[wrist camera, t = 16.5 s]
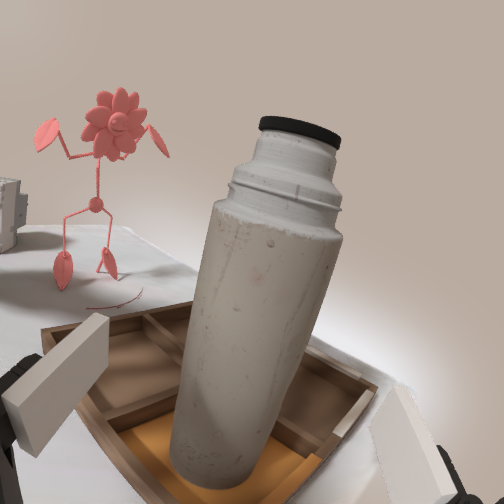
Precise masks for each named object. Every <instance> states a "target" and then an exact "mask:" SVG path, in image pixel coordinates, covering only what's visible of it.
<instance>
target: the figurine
mask: <svg viewBox="0 0 504 504" xmlns="http://www.w3.org/2000/svg"><path fill="white" fill-rule="evenodd" d="M138 104H139V95H138V93H137V92H133V93H131V94H130V95H129V96H128V94H127V92H126V91H125V89H123V88H121V87H119V88H118V89H117V90H116V92H115V94H114V95H112V94H111V93H109V92H107V91H100V92H99V93H98V94H97V105H98V107H94V108H92V109H91V110H89V111H88V112H87V113H86V114H85V119H86V120H87V121H88V122H89V123H88V124H87V125H86V126H85V128H84V129H83V131H82V133H81V139H82V141H86V142H89V141H94V142H93V144H94V145H93V152H90V153H85V154H80V155H75V156H70V155H69V152H68V150H67V148H66V145H65V143H64V141H63V138H62V136H61V133H60V131H59V123H58V122H57V121H56V118H52V119H50V120H47V121H46V122H44V123H43V124H42V125H41V126H40V127H39V128H38V130H37V131H36V134H35V138H34V142H35V147H36V150H37V152H40V151H42V150H43V149H45V148H46V147H47V146H49V145H50V144H51V143H52V142H53V141H54V140H55V138H56V137H57V135H58V136H59V139H60V141H61V144H62V146H63V148H64V150H65V152H66V155H67V157H69V160H70V159H74V158H80V157H84V156H89V155H93V156H94V158H97V168H96V169H97V170H96V182H97V183H96V184H97V197H94V198H92V199H91V200H90V202H89V207H88V208H86V209H83V210H81V211H78V212H76V213H73V214H71V215H68V216H66V217H64V219H63V251H62V252H60V253H59V254H58V256H57V257H56V259H55V262H54V267H53V270H54V278H55V280H56V281H57V283H58V286H59V288H60V290H61V291H62V290H63V289H64V288H65V287H66V285H67V284H68V282H69V281H70V280H71V276H72V273H73V262H72V258H71V255H70V254H69V253H68V252H67V251H66V252H65V219H66V218H68V217H71V216H73V215H76V214H78V213H81V212H84V211H86V210H89V209H90V210H91V211H92V212H94V213H98V212H100V211H101V210H103V211H105V212H106V213H107V214H108V215H109V216H110V217H111V220H110V226H109V233H108V241H107V248H106V247H104V248H103V249H102V259H101V261H100V264H99V266H98V268H97V270H96V272H97V273H98V272H99V270H100V268H101V266H102V263H104V266H105V268H106V270H107V271H108V273H109V274H110V275H111V276H112V277H113V278H114V279H116V280H117V267H116V262H115V259H114V257H113V255H112V254H111V252H110V251H109V249H108V247H109V239H110V232H111V225H112V215H110V213H109V212H107V211H106V210H105V209H104V208H103V201H102V200H101V199H100V198H99V168H100V158H101V157H103V155H105V156H107V158H108V159H109V160H110V161H112V162H114V161H116V160H117V159H121V160H124V158H126V157H127V155H128V154H129V153H134V152H135V150H136V143H137V142H138V141H139V140H140V138H141V137H142V136H143V134H144V133H145V132H146V131H147V129H148V130H149V132H150V135H151V137H152V139H153V141H154V142H155V144H156V145H157V147H158V148H159V149H160V150H161V152H163V154H164V155H166V156H167V157H168V158H169V153H168V151H167V148H166V145H165V144H164V142H163V140H162V138H161V137H160V135H159V134H158V133H157V131H156V130H155V129H154V128H153V127H152V126H151V125H150V124H147V125H146V128H145V129H144V127H143V126H142V125H141V123H142V122H143V121H144V120H145V118H146V115H147V110H146V109H144V108H141V109H138ZM134 139H136V140H135V141H134ZM120 151H121V152H124V153H126V154H125V155H124V157H120ZM141 291H142V290H141ZM140 293H141V292H140ZM138 296H139V295H138ZM138 296H137V297H138ZM137 297H136V298H137ZM136 298H134V299H136ZM139 298H140V297H139ZM139 298H138V299H139ZM134 299H133V300H134ZM131 301H132V300H131ZM131 301H129V302H131ZM129 302H127V303H129ZM125 304H126V303H125ZM122 305H124V304H122ZM118 306H121V305H118ZM113 307H117V306H113ZM121 307H122V306H121ZM107 308H112V307H107ZM117 308H119V307H117ZM86 309H105V308H86Z"/></svg>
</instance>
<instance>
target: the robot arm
mask: <svg viewBox="0 0 504 504" xmlns="http://www.w3.org/2000/svg"><path fill="white" fill-rule="evenodd" d="M109 319H110V317H107V316H104V315H102V314H99V313H96V312H95V313H93V314H92V315H91V316H90V317H89V318H88V319H86V320H85V321H84V322H83V323H82V324H80V325H79V326H78V327H77V328H76V329H75V330H73V331H72V332H71V333H70V334H69V335H68V336H66V337H65V338H64V339H63V340H62V341H61V342H59V343H58V344H57V345H56V346H55V347H54V348H53V349H51V350H50V351H49V352H48V353H47V354H46V355H45V356H44V357H42V356H40V355H38V354H36V353H35V354H32V355H29V356H27V357H24V358H23V359H22V360H21V361H20V362H18V363H17V364H16V366H14V367H13V368H11V369H10V371H8V372H7V373H6V374H4V375H3V376H2V377H1V378H0V504H23V500H22V496H21V491H20V487H19V482H18V476H17V471H16V465H15V459H14V452H13V447H12V443H13V442H14V441H15V440H16V439H17V442H18V444H19V447H20V448H21V449H22V450H24V451H25V452H27V453H29V454H30V455H32V456H33V457H35V458H37V457H38V455H39V454H40V453H41V451H42V450H43V449H44V447H45V446H46V445H47V443H48V442H49V441H50V439H51V438H52V437H53V435H54V434H55V433H56V431H57V430H58V429H59V427H60V426H61V425H62V424H63V422H64V421H65V420H66V418H67V417H68V416H69V414H70V413H71V412H72V411H73V409H74V408H75V407H76V406H77V404H78V403H79V402H80V400H81V399H82V398H83V397H84V395H85V394H86V393H87V392H88V390H89V389H90V388H91V387H92V385H93V384H94V383H95V382H96V380H97V379H98V378H99V377H100V375H101V374H102V373H103V372H104V370H105V369H106V368H107V367H108V349H109ZM368 427H369V430H370V433H371V436H372V440H373V443H374V446H375V450H376V453H377V456H378V460H379V463H380V467H381V470H382V474H383V477H384V481H385V484H386V488H387V492H388V495H389V499H390V503H391V504H483V503H482V501H481V500H480V499H479V498H478V497H477V496H475V495H472V494H467V493H466V491H465V489H464V487H463V485H462V482H461V480H460V478H459V476H458V474H457V472H456V470H454V469H455V468H454V466H453V464H452V463H451V459H450V457H449V456H448V453H447V452H446V451H445V450H444V449H443V448H442V447H441V446H440V445H435V443H434V440H433V438H432V436H431V434H430V432H429V430H428V428H427V426H426V424H425V422H424V420H423V418H422V417H421V414H420V413H419V411H418V409H417V407H416V405H415V403H414V401H413V399H412V397H411V395H410V393H409V392H408V390H407V388H406V387H404V386H395V385H393V386H392V388H391V389H390V391H389V393H388V395H387V397H386V398H385V400H384V402H383V403H382V405H381V407H380V408H379V410H378V412H377V413H376V415H375V417H374V418H373V420H372V422H371V423H370V425H369V426H368ZM495 504H504V497H503V498H501V499H500V500H499V501H498V502H497V503H495Z"/></svg>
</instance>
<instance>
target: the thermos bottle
mask: <svg viewBox="0 0 504 504" xmlns="http://www.w3.org/2000/svg"><path fill="white" fill-rule="evenodd" d="M259 130H261V131H262V133H261V137H260V138H259V139H258V140H257V142H256V146H255V150H254V153H253V157H252V160H251V161H249V162H247V163H245V164H242V165H239V166H237V167H236V168H235V169H234V172H233V176H232V180H231V183H228V186H229V187H230V189H229V193H228V196H227V198H226V199H223V200H218V201H216V202H215V203H214V205H213V210H212V214H211V218H210V223H209V228H208V232H207V236H206V241H205V246H204V251H203V255H202V260H201V265H200V270H199V275H198V280H197V285H196V290H195V295H194V300H193V305H192V310H191V316H190V321H189V327H188V332H187V338H186V343H185V349H184V355H183V361H182V368H181V378H180V386H179V392H178V396H177V400H176V405H175V411H174V418H173V425H172V432H171V439H170V447H169V457H170V461H171V463H172V466H173V467H174V469H175V470H176V471H177V473H178V474H179V475H180V476H181V477H183V478H184V479H185V480H187V481H188V482H190V483H191V484H194V485H196V486H198V487H201V488H205V489H211V490H225V489H230V488H233V487H236V486H238V485H240V484H242V483H243V482H245V481H246V480H247V479H248V478H249V476H250V475H251V474H252V472H253V470H254V468H255V466H256V464H257V461H258V459H259V457H260V455H261V453H262V451H263V449H264V446H265V444H266V442H267V440H268V438H269V436H270V433H271V431H272V429H273V427H274V425H275V422H276V420H277V418H278V415H279V412H280V410H281V407H282V404H283V401H284V398H285V395H286V392H287V390H288V387H289V385H290V383H291V382H292V380H293V378H294V376H295V374H296V372H297V369H298V367H299V365H300V362H301V360H302V357H303V355H304V352H305V349H306V347H307V344H308V341H309V339H310V336H311V333H312V331H313V328H314V325H315V322H316V319H317V316H318V314H319V311H320V308H321V305H322V303H323V300H324V297H325V294H326V291H327V288H328V285H329V282H330V279H331V276H332V273H333V270H334V267H335V263H336V260H337V257H338V254H339V250H340V248H341V244H342V241H343V235H342V234H341V233H340V232H339V231H338V230H336V229H335V222H336V219H337V215H338V212H339V211H342V209H341V208H340V205H341V201H342V195H341V193H340V192H339V191H338V190H337V188H336V187H335V186H334V185H333V183H332V178H333V174H334V170H335V166H336V158H335V155H336V151H337V150H338V149H339V148H340V143H341V138H340V136H338V135H337V134H336V133H334V132H332V131H330V130H328V129H325V128H322V127H320V126H318V125H315V124H311V123H308V122H305V121H301V120H296V119H292V118H286V117H279V116H265V117H262V118H261V120H260V124H259Z"/></svg>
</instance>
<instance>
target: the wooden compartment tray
mask: <svg viewBox="0 0 504 504" xmlns="http://www.w3.org/2000/svg"><path fill="white" fill-rule="evenodd" d="M192 305H193V301H190V302H185V303H180V304H175V305H170V306H165V307H160V308H155V309H150V310H145V311H140V312H135V313H130V314H124V315H119V316H114V317H110V319H109V349H108V367H107V368H106V369H105V370H104V372H103V373H102V374H101V375H100V377H99V378H98V379H97V380H96V382H95V383H94V384H93V385H92V387H91V388H90V389H89V390H88V392H87V393H86V394H85V395H84V397H83V398H82V399H81V400H80V402H79V403H78V404H77V406H76V407H75V408H74V409H75V410H76V412H77V413H78V415H79V416H80V418H81V420H82V421H83V423H84V424H85V426H86V427H87V429H88V430H89V432H90V433H91V434H92V436H93V437H94V439H95V440H96V442H97V443H98V444H99V446H100V447H101V448H102V450H103V451H104V452H105V454H106V455H107V456H108V458H109V459H110V460H111V462H112V463H113V464H114V465H115V467H116V468H117V469H118V470H119V472H120V473H121V474H122V475H123V477H124V478H125V479H126V480H127V481H128V483H129V484H130V485H131V486H132V487H133V488H134V489H135V491H136V492H137V493H138V494H139V495H140V496H141V497H142V498H143V499H144V501H145V502H146V503H147V504H285V503H286V502H287V501H288V500H289V499H290V498H291V497H292V496H293V495H294V494H295V493H296V492H297V491H298V490H299V489H300V488H301V487H302V486H303V485H304V483H305V482H306V481H307V480H308V479H309V478H310V477H311V476H312V475H313V474H314V473H315V471H316V470H317V469H318V468H319V467H320V466H321V465H322V464H323V462H324V461H325V460H326V459H327V458H328V457H329V455H330V454H331V453H332V452H333V451H334V449H335V448H336V447H337V446H338V445H339V443H340V442H341V441H342V440H343V438H344V437H345V436H346V435H347V433H348V432H349V431H350V429H351V428H352V427H353V425H354V424H355V423H356V422H357V420H358V419H359V417H360V416H361V415H362V413H363V412H364V411H365V409H366V408H367V406H368V405H369V403H370V401H371V400H372V398H373V396H374V394H375V393H376V391H377V389H378V386H376V385H374V384H372V383H370V382H368V381H366V380H364V379H362V378H360V377H361V375H362V373H360V372H358V371H356V370H354V369H352V368H350V367H348V366H346V365H344V364H342V363H341V362H339V361H337V360H335V359H333V358H331V357H329V356H327V355H326V354H324V353H322V352H320V351H318V350H316V349H315V348H313V347H311V346H309V345H307V347H306V349H305V352H304V355H303V357H302V360H301V362H300V365H299V367H298V369H297V372H296V374H295V376H294V378H293V380H292V382H291V383H290V385H289V387H288V390H287V392H286V395H285V398H284V401H283V404H282V407H281V410H280V412H279V415H278V418H277V420H276V422H275V425H274V427H273V429H272V431H271V433H270V436H269V438H268V440H267V442H266V444H265V446H264V449H263V451H262V453H261V455H260V457H259V459H258V461H257V464H256V466H255V468H254V470H253V472H252V474H251V475H250V476H249V478H248V479H247V480H246V481H245V482H243V483H242V484H240V485H238V486H236V487H233V488H230V489H225V490H211V489H205V488H201V487H198V486H196V485H194V484H191V483H190V482H188V481H187V480H185V479H184V478H183V477H181V476H180V475H179V474H178V473H177V471H176V470H175V469H174V467H173V466H172V463H171V461H170V457H169V447H170V439H171V432H172V425H173V418H174V411H175V405H176V400H177V396H178V392H179V386H180V378H181V368H182V361H183V355H184V349H185V343H186V338H187V332H188V327H189V321H190V316H191V310H192ZM82 323H83V322H80V323H75V324H69V325H63V326H57V327H51V328H45V329H41V338H42V347H43V353H44V355H46V354H47V353H48V352H49V351H50V350H51V349H53V348H54V347H55V346H56V345H57V344H58V343H59V342H61V341H62V340H63V339H64V338H65V337H66V336H68V335H69V334H70V333H71V332H72V331H73V330H75V329H76V328H77V327H78V326H79V325H80V324H82Z"/></svg>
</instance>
